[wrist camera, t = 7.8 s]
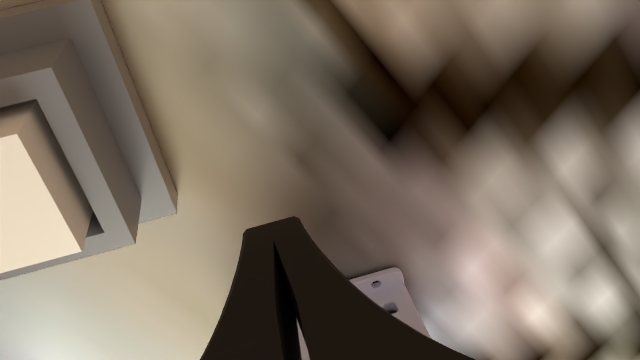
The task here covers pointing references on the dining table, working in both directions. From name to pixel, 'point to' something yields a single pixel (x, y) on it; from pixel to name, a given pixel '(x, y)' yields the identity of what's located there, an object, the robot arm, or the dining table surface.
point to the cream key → (37, 192)
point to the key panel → (87, 116)
